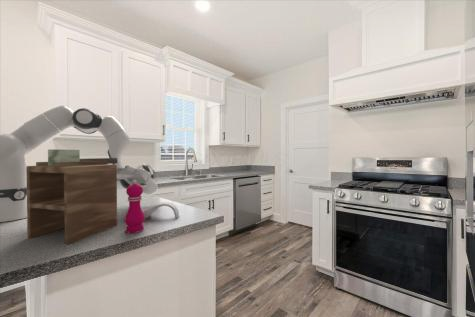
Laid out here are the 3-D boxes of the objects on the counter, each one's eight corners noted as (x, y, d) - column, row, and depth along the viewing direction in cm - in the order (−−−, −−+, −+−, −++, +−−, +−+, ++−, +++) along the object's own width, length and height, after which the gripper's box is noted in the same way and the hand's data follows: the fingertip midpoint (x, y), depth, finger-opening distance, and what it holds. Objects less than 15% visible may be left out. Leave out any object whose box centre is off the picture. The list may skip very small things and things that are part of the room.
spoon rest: (122, 221, 98) (122, 206, 98) (133, 214, 109) (133, 200, 109) (175, 221, 99) (175, 205, 99) (180, 213, 111) (180, 200, 111)
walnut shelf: (27, 237, 78) (26, 161, 77) (81, 221, 97) (80, 160, 97) (68, 244, 72) (67, 162, 72) (117, 225, 91) (116, 161, 91)
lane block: (48, 166, 78) (47, 149, 78) (110, 163, 103) (110, 150, 103) (60, 166, 76) (59, 149, 76) (120, 163, 102) (120, 150, 101)
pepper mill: (125, 234, 81) (125, 182, 81) (124, 229, 88) (123, 180, 87) (146, 231, 85) (145, 180, 85) (143, 225, 91) (143, 178, 91)
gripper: (123, 172, 120) (104, 160, 109) (154, 173, 115) (138, 161, 103) (118, 182, 117) (98, 171, 106) (150, 184, 112) (133, 173, 100)
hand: (118, 166), depth 104 cm, fingers open, 8 cm apart
